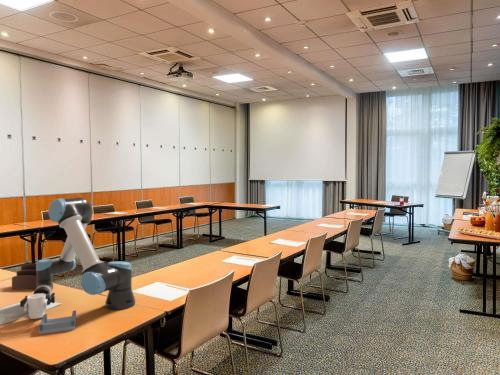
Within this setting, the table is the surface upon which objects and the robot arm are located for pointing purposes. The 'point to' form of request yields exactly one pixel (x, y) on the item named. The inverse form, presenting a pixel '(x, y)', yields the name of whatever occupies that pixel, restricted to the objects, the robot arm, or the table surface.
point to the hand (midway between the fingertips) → (35, 307)
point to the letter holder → (25, 277)
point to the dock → (57, 324)
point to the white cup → (36, 305)
